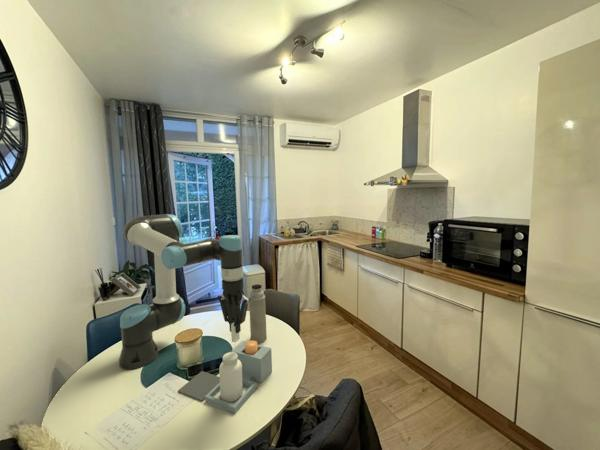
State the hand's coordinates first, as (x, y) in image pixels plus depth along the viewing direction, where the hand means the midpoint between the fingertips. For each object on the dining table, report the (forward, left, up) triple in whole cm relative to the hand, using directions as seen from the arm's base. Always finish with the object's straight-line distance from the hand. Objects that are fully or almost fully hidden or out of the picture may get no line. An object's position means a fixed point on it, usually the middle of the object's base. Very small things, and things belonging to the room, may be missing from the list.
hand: (235, 340), depth 97 cm
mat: (-14, -4, -19) cm, 24 cm away
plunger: (0, +10, -14) cm, 17 cm away
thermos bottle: (-12, +33, -19) cm, 40 cm away
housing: (0, +2, -19) cm, 19 cm away
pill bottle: (0, -3, -19) cm, 20 cm away
